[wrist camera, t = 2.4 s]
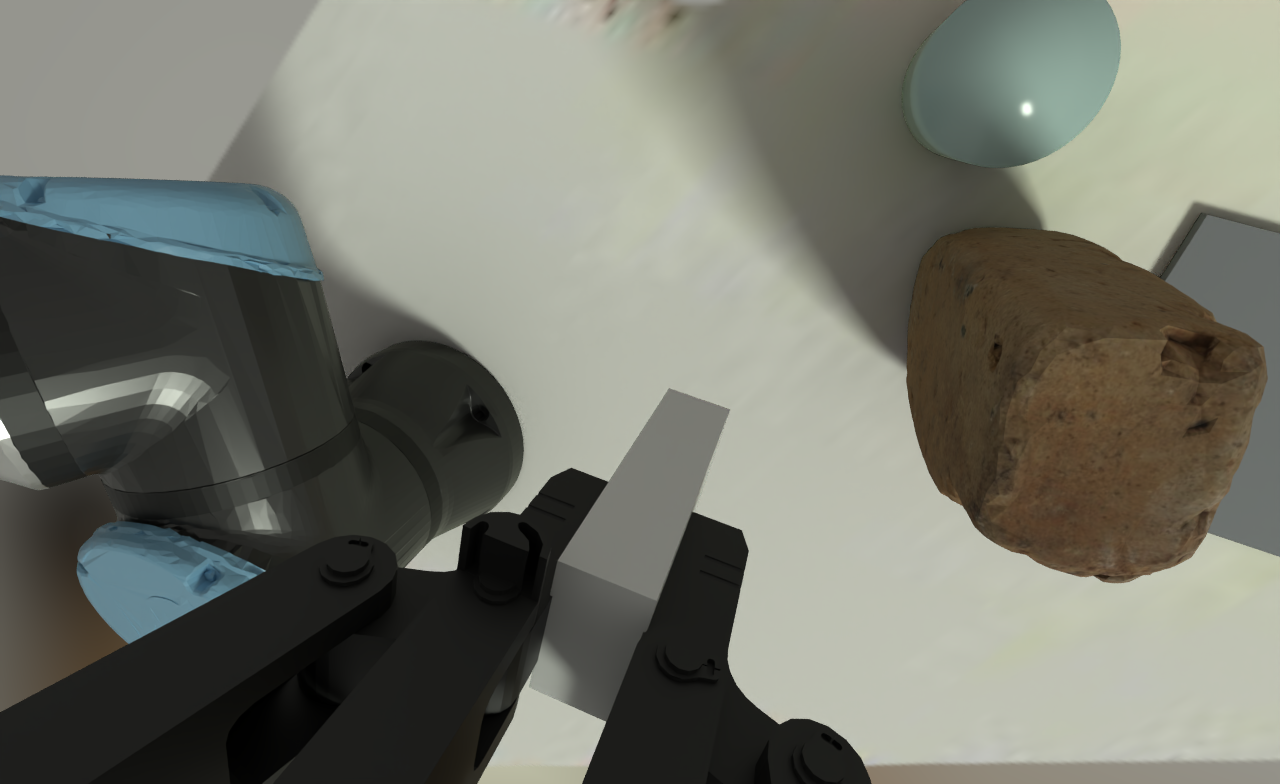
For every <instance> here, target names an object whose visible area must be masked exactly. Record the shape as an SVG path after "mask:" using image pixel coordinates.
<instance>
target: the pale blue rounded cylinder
mask: <svg viewBox="0 0 1280 784" xmlns="http://www.w3.org/2000/svg"><path fill="white" fill-rule="evenodd" d="M1120 51H1121V41H1120V32H1119V27H1118V24H1117V20H1116V17H1115V15H1114V13H1113V11H1112V8H1111V7H1110V5H1109V4H1108V2H1107V1H1106V0H966V1H965V2H964V3H963V4H962V5H961V6H959V7H958V8H957V9H956V10H955V11H954V12H953V13H952V14H951V15H950V16H949V17H948V18H947V19H946V20H945V21H944V22H943V23H942V24H941V25H940V26H939V27H938V28H937V29H936V30H935V31H934V32H933V33H932V34H931V35H930V36H929V37H928V38H927V39H926V40H925V41H924V42H923V44H922V45H921V46H920V48H919V49H918V50H917V52H916V53H915V55H914V57H913V59H912V60H911V62H910V65H909V67H908V69H907V72H906V75H905V78H904V83H903V88H902V109H903V114H904V118H905V121H906V124H907V126H908V128H909V130H910V132H911V133H912V135H913V136H914V137H915V139H916V140H917V141H918V142H919V143H920V144H921V145H922V146H924V147H925V148H927V149H928V150H929V151H931V152H933V153H935V154H937V155H940V156H943V157H947V158H950V159H954V160H958V161H961V162H965V163H969V164H972V165H976V166H982V167H989V168H1005V167H1014V166H1019V165H1024V164H1027V163H1030V162H1033V161H1036V160H1039V159H1041V158H1043V157H1046V156H1048V155H1050V154H1051V153H1053V152H1055V151H1057V150H1058V149H1060V148H1062V147H1063V146H1064V145H1066V144H1067V143H1069V142H1070V141H1071V140H1073V139H1074V138H1075V137H1076V136H1077V135H1078V134H1079V133H1081V132H1082V131H1083V130H1084V129H1085V127H1086V126H1087V125H1088V124H1089V123H1090V122H1091V121H1092V120H1093V118H1094V117H1095V116H1096V114H1097V113H1098V112H1099V110H1100V109H1101V107H1102V106H1103V104H1104V102H1105V101H1106V99H1107V97H1108V95H1109V93H1110V91H1111V89H1112V86H1113V84H1114V81H1115V78H1116V75H1117V72H1118V67H1119V61H1120Z"/></svg>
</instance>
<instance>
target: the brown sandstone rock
mask: <svg viewBox="0 0 1280 784" xmlns="http://www.w3.org/2000/svg"><path fill="white" fill-rule="evenodd" d="M907 342H908V352H907V378H906V382H907V389H908V398H909V404H910V409H911V414H912V418H913V422H914V427H915V432H916V436H917V439H918V442H919V446H920V449H921V452H922V455H923V458H924V460H925V463H926V465H927V468H928V471H929V474H930V475H931V477H932V479H933V481H934V483H935V485H936V486H937V488H938V490H939V491H940V493H941V494H943V495H945V496H947V497H949V498H950V499H951V500H952V501H954V502H956V503H958V504H960V505H962V506H963V507H964V509H965V510H966V512H967V514H968V515H969V517H970V519H971V521H972V523H973V525H974V526H975V528H976V529H978V530H979V531H980V532H981V533H982V534H983V535H984V536H985V537H986V538H988V539H989V540H991V541H992V542H994V543H996V544H998V545H999V546H1001V547H1003V548H1005V549H1007V550H1010V551H1012V552H1016V553H1020V554H1025V555H1027V556H1029V557H1030V558H1032V559H1033V560H1034V561H1036V562H1037V563H1040V564H1042V565H1044V566H1046V567H1049V568H1051V569H1055V570H1058V571H1061V572H1065V573H1068V574H1072V575H1075V576H1079V577H1089V576H1095V577H1096V578H1098V579H1100V580H1101V581H1103V582H1108V583H1125V582H1130V581H1132V580H1134V579H1136V578H1138V577H1140V576H1142V575H1150V574H1152V573H1153V572H1158V571H1161V570H1164V569H1168V568H1171V567H1173V566H1176V565H1178V564H1180V563H1182V562H1184V561H1185V560H1187V559H1189V558H1191V557H1192V556H1193V554H1194V553H1195V551H1196V550H1197V548H1198V547H1199V545H1200V544H1201V542H1202V541H1203V540H1204V538H1205V537H1206V534H1207V532H1208V530H1209V528H1210V525H1211V523H1212V521H1213V518H1214V516H1215V513H1216V510H1217V508H1218V506H1219V504H1220V502H1221V500H1222V499H1223V498H1224V497H1225V495H1226V494H1227V493H1228V492H1229V491H1230V487H1231V483H1232V479H1233V476H1234V474H1235V472H1236V471H1237V469H1238V468H1239V466H1240V463H1241V461H1242V458H1243V456H1244V454H1245V451H1246V449H1247V446H1248V444H1249V440H1250V434H1251V427H1252V421H1253V416H1254V413H1255V409H1256V408H1257V406H1258V405H1259V403H1260V402H1261V399H1262V396H1263V393H1264V389H1265V386H1266V383H1267V380H1268V376H1267V367H1266V359H1265V352H1264V347H1263V346H1262V345H1261V344H1259V343H1258V342H1257V341H1255V340H1254V339H1253V338H1252V337H1250V336H1249V335H1248V334H1246V333H1243V332H1241V331H1239V330H1236V329H1233V328H1231V327H1228V326H1226V325H1223V324H1220V323H1218V322H1217V321H1216V319H1215V317H1214V315H1213V313H1212V312H1210V311H1209V310H1207V309H1206V308H1204V307H1203V306H1201V305H1200V304H1198V303H1197V302H1196V301H1195V300H1194V299H1192V298H1191V297H1189V296H1187V295H1186V294H1184V293H1183V292H1181V291H1179V290H1178V289H1176V288H1175V287H1174V286H1172V285H1170V284H1169V283H1167V282H1165V281H1164V280H1162V279H1161V278H1159V277H1157V276H1156V275H1154V274H1152V273H1151V272H1149V271H1147V270H1145V269H1142V268H1140V267H1138V266H1135V265H1133V264H1130V263H1127V262H1124V261H1122V260H1121V259H1120V258H1119V257H1118V256H1117V255H1115V254H1114V253H1112V252H1110V251H1109V250H1107V249H1105V248H1104V247H1101V246H1099V245H1097V244H1095V243H1093V242H1090V241H1088V240H1085V239H1083V238H1080V237H1077V236H1074V235H1071V234H1066V233H1062V232H1057V231H1047V230H1037V229H1018V228H994V227H986V228H973V229H967V230H964V231H962V232H959V233H955V234H949V235H946V236H943V237H941V238H940V239H939V240H938V241H937V242H936V243H935V244H934V245H933V247H931V248H930V249H929V250H928V251H927V253H926V254H925V255H924V256H923V257H922V260H921V263H920V267H919V270H918V274H917V277H916V281H915V285H914V290H913V296H912V302H911V306H910V316H909V322H908V337H907Z"/></svg>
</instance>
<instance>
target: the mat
mask: <svg viewBox="0 0 1280 784" xmlns="http://www.w3.org/2000/svg"><path fill="white" fill-rule="evenodd" d="M1161 279H1162V280H1164V281H1165V282H1167V283H1169V284H1170V285H1172V286H1174V287H1175V288H1176V289H1178V290H1179V291H1181V292H1183V293H1184V294H1186V295H1187V296H1189V297H1191V298H1192V299H1194V300H1195V301H1196V302H1197V303H1198V304H1200V305H1201V306H1203V307H1204V308H1206V309H1207V310H1209V311H1210V312H1212V313H1213V315H1214V317H1215V319H1216V321H1217V322H1218V323H1220V324H1223V325H1226V326H1228V327H1231V328H1233V329H1236V330H1239V331H1241V332H1243V333H1246V334H1248V335H1249V336H1250V337H1252V338H1253V339H1254V340H1255V341H1257V342H1258V343H1259V344H1261V345H1262V346H1263V347H1264V352H1265V359H1266V367H1267V376H1268V380H1267V383H1266V386H1265V389H1264V393H1263V396H1262V399H1261V402H1260V403H1259V405H1258V406H1257V408H1256V409H1255V413H1254V416H1253V421H1252V427H1251V434H1250V440H1249V444H1248V446H1247V449H1246V451H1245V454H1244V456H1243V458H1242V461H1241V463H1240V466H1239V468H1238V469H1237V471H1236V472H1235V474H1234V476H1233V479H1232V483H1231V487H1230V491H1229V492H1228V493H1227V494H1226V495H1225V497H1224V498H1223V499H1222V500H1221V502H1220V504H1219V506H1218V508H1217V510H1216V513H1215V516H1214V518H1213V521H1212V523H1211V525H1210V528H1209V530H1208V532H1207V533H1210V534H1213V535H1216V536H1219V537H1222V538H1225V539H1228V540H1231V541H1234V542H1237V543H1240V544H1243V545H1246V546H1249V547H1252V548H1255V549H1258V550H1261V551H1264V552H1267V553H1270V554H1273V555H1276V556H1279V557H1280V233H1276V232H1272V231H1268V230H1265V229H1261V228H1257V227H1253V226H1249V225H1245V224H1242V223H1238V222H1234V221H1230V220H1226V219H1222V218H1219V217H1215V216H1211V215H1207V214H1203V213H1201V214H1200V216H1199V218H1198V219H1197V221H1196V222H1195V224H1194V225H1193V227H1192V229H1191V230H1190V232H1189V233H1188V235H1187V237H1186V238H1185V240H1184V241H1183V243H1182V244H1181V246H1180V248H1179V249H1178V251H1177V252H1176V254H1175V256H1174V257H1173V259H1172V260H1171V262H1170V263H1169V265H1168V267H1167V268H1166V270H1165V271H1164V273H1163V275H1162V276H1161Z"/></svg>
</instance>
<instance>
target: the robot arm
mask: <svg viewBox="0 0 1280 784" xmlns="http://www.w3.org/2000/svg"><path fill="white" fill-rule="evenodd" d="M320 280H324V276H323V273H322V271H320V270H319V269H318V268H317V267H316V264H315V261H314V258H313V255H312V252H311V249H310V246H309V243H308V240H307V236H306V233H305V230H304V227H303V224H302V221H301V218H300V216H299V214H298V211H297V210H296V208H295V207H294V205H293V204H292V203H291V202H290V201H289V200H288V199H287V198H286V197H285V196H283V195H282V194H280V193H279V192H277V191H275V190H273V189H271V188H268V187H265V186H261V185H255V184H245V183H227V182H205V181H179V180H152V179H121V178H86V177H81V178H80V177H21V176H18V177H17V176H0V479H1V480H5V481H8V482H11V483H15V484H18V485H22V486H25V487H29V488H32V489H36V490H42V489H47V488H51V487H54V486H58V485H61V484H64V483H68V482H71V481H74V480H77V479H81V478H84V477H87V476H90V475H96V474H99V476H100V477H101V481H102V483H103V485H104V487H105V490H106V492H107V494H108V496H109V498H110V500H111V503H112V505H113V507H114V509H115V512H116V514H117V517H118V518H117V522H116V523H108V524H106V525H103V526H101V527H100V528H98V529H97V530H96V531H95V532H94V533H93V536H92V537H91V538H90V539H88V540H87V541H86V542H85V543H84V544H83V545H82V547H81V548H80V550H79V553H78V561H79V562H78V565H77V575H78V578H79V581H80V584H81V586H82V588H83V590H84V592H85V594H86V596H87V597H88V599H89V601H90V602H91V604H92V605H93V606H94V608H95V609H96V611H97V612H98V613H99V614H100V615H101V617H102V618H103V619H104V620H105V621H106V622H107V623H108V625H109V626H111V628H112V629H113V630H114V631H115V632H116V633H117V634H118V635H119V636H120V637H122V638H123V639H124V640H125V641H126V642H127V643H128V645H126V646H124V647H122V648H120V649H118V650H117V651H115V652H113V653H111V654H109V655H107V656H105V657H103V658H101V659H100V660H98V661H96V662H94V663H92V664H91V665H88V666H86V667H85V668H83V669H81V670H79V671H77V672H75V673H73V674H72V675H70V676H68V677H66V678H64V679H62V680H60V681H58V682H56V683H55V684H53V685H51V686H49V687H47V688H45V689H43V690H41V691H40V692H38V693H36V694H34V695H32V696H30V697H28V698H26V699H24V700H23V701H21V702H19V703H17V704H15V705H13V706H11V707H9V708H8V709H6V710H4V711H2V712H0V784H477V783H478V781H479V779H480V778H481V776H482V774H483V772H484V770H485V768H486V767H487V765H488V763H489V761H490V759H491V757H492V756H493V754H494V752H495V750H496V748H497V746H498V745H499V743H500V741H501V739H502V737H503V736H504V734H505V732H506V730H507V728H508V726H509V725H510V723H511V721H512V719H513V717H514V713H515V710H516V707H517V703H518V699H519V694H520V692H521V690H522V688H523V686H524V685H525V683H526V681H527V679H528V678H529V676H530V674H531V672H532V676H531V680H530V685H529V687H530V688H532V689H534V690H536V691H539V692H541V693H543V694H545V695H548V696H550V697H552V698H554V699H557V700H559V701H561V702H563V703H566V704H568V705H570V706H572V707H575V708H577V709H579V710H581V711H584V712H586V713H588V714H590V715H593V716H595V717H597V718H599V719H602V720H604V721H606V724H605V727H604V729H603V732H602V734H601V737H600V740H599V742H598V745H597V747H596V750H595V752H594V755H593V757H592V760H591V762H590V765H589V767H588V770H587V773H586V775H585V778H584V780H583V783H582V784H871V780H870V777H869V775H868V773H867V770H866V768H865V766H864V764H863V762H862V759H861V757H860V756H859V755H858V754H857V753H856V751H855V750H854V749H853V748H852V746H851V745H850V744H849V743H848V742H847V740H846V739H844V738H843V737H842V736H840V735H839V734H838V733H836V732H835V731H834V730H832V729H831V728H830V727H828V726H826V725H823V724H820V723H818V722H815V721H813V720H810V719H790V720H788V721H786V722H784V723H782V724H780V725H779V724H778V723H777V722H775V721H774V720H773V719H771V718H770V717H769V716H768V715H766V714H765V713H764V712H762V711H761V710H760V709H758V708H757V707H756V706H755V705H754V704H753V703H752V702H751V701H750V700H748V699H747V698H746V697H745V695H744V694H743V693H742V692H741V690H740V689H739V688H738V686H737V685H736V683H735V681H734V679H733V677H732V675H731V673H730V669H729V665H728V660H727V658H728V647H729V642H730V637H731V632H732V628H733V623H734V618H735V613H736V609H737V604H738V599H739V594H740V588H741V585H742V580H743V576H744V570H745V566H746V561H747V557H748V552H749V550H748V547H747V544H746V541H745V538H744V536H743V533H742V530H739V529H737V528H734V527H732V526H729V525H726V524H724V523H721V522H718V521H716V520H713V519H710V518H708V517H705V516H702V515H700V514H697V513H695V510H696V507H697V505H698V502H699V499H700V496H701V493H702V490H703V487H704V485H705V482H706V479H707V476H708V473H709V470H710V467H711V464H712V461H713V458H714V455H715V452H716V449H717V447H718V444H719V441H720V438H721V435H722V432H723V429H724V426H725V423H726V420H727V417H728V414H729V411H730V409H727V408H724V407H721V406H719V405H716V404H713V403H710V402H707V401H704V400H701V399H698V398H695V397H693V396H690V395H687V394H684V393H681V392H678V391H675V390H672V389H670V388H669V389H668V391H667V393H666V394H665V396H664V397H663V399H662V400H661V402H660V403H659V405H658V406H657V408H656V410H655V411H654V413H653V414H652V416H651V417H650V419H649V420H648V422H647V423H646V425H645V427H644V428H643V430H642V431H641V433H640V434H639V436H638V437H637V439H636V440H635V442H634V444H633V445H632V447H631V448H630V450H629V451H628V453H627V454H626V456H625V457H624V459H623V461H622V462H621V464H620V465H619V467H618V468H617V470H616V471H615V473H614V474H613V476H612V478H611V479H610V481H609V482H607V481H605V480H602V479H599V478H597V477H594V476H592V475H589V474H586V473H584V472H581V471H578V470H576V469H573V468H570V469H568V470H566V471H563V472H561V473H559V474H557V475H555V476H553V477H551V478H550V479H549V481H548V482H547V483H546V484H545V485H544V487H543V488H542V489H541V490H540V491H539V494H538V495H536V496H535V498H534V499H533V500H532V501H531V502H530V504H529V506H528V508H526V509H525V510H524V511H523V512H522V513H521V515H519V514H515V513H511V512H490V513H488V512H489V511H490V510H492V509H493V508H494V507H495V506H496V505H497V504H498V503H499V502H500V501H501V500H502V499H503V497H504V496H505V495H506V494H507V493H508V492H509V491H510V489H511V488H512V487H513V485H514V484H515V482H516V480H517V478H518V476H519V473H520V470H521V467H522V462H523V451H524V448H523V436H522V431H521V427H520V423H519V420H518V417H517V415H516V412H515V410H514V408H513V406H512V404H511V402H510V400H509V398H508V397H507V395H506V394H505V392H504V391H503V389H502V388H501V386H500V385H499V384H498V383H497V382H496V380H495V379H494V378H493V377H492V376H491V375H490V374H489V373H488V372H487V371H486V370H485V369H484V368H483V367H481V366H480V365H479V364H478V363H476V362H475V361H474V360H472V359H471V358H469V357H468V356H466V355H464V354H463V353H461V352H459V351H457V350H455V349H453V348H450V347H447V346H445V345H441V344H438V343H433V342H427V341H408V342H402V343H398V344H395V345H393V346H390V347H388V348H386V349H384V350H382V351H380V352H378V353H376V354H374V355H372V356H370V357H369V358H367V359H366V360H364V361H363V362H362V363H361V364H359V365H358V366H357V367H356V368H355V369H354V371H353V372H352V373H351V374H350V375H349V377H348V378H347V379H346V376H345V372H344V368H343V364H342V361H341V357H340V353H339V349H338V345H337V342H336V338H335V334H334V330H333V327H332V323H331V319H330V315H329V311H328V308H327V304H326V300H325V296H324V293H323V289H322V285H321V281H320ZM486 513H487V514H486ZM465 523H466V524H465ZM462 524H464V525H463V529H462V537H461V544H460V552H459V560H458V567H457V569H456V570H455V571H448V572H433V571H423V570H416V569H408V568H405V567H406V566H407V565H408V563H409V562H410V561H411V560H412V559H413V558H414V557H415V556H416V555H417V554H418V553H419V552H420V551H421V550H422V549H423V548H424V547H425V546H426V545H427V544H428V543H429V542H430V541H431V540H432V539H433V538H435V537H437V536H439V535H441V534H443V533H445V532H447V531H449V530H452V529H454V528H456V527H458V526H460V525H462ZM532 670H533V671H532Z"/></svg>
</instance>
